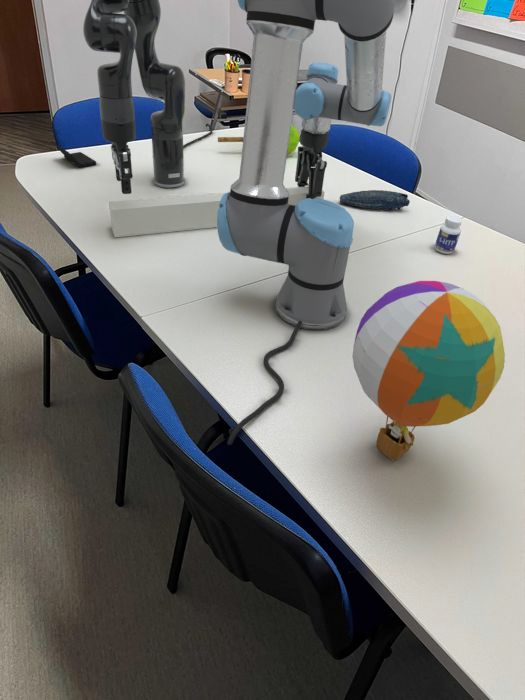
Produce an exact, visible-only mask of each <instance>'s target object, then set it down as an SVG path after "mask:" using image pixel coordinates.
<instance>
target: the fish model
mask: <svg viewBox="0 0 525 700" xmlns="http://www.w3.org/2000/svg"><path fill="white" fill-rule="evenodd" d="M410 202H411V201H410V200H409V195H408V194H406V193H403V192H402V193H401V192H399V191H392V190H382V189H380V190H379V189H377V190H376V189H368V190H360V191H352V192H348V193H344V194H341V195H340V196H339V203H343V204H346V205H349V206H351V207H357V208H362V209H371V210H372V209H374V210H384V211H385V210H386V211H391V210H394V209H397V210H402V208H404V207H408V206H409V205H410Z"/></svg>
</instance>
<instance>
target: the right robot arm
mask: <svg viewBox="0 0 525 700" xmlns="http://www.w3.org/2000/svg"><path fill="white" fill-rule="evenodd" d="M237 3H238V6H239V8H240V9H241V10H242V11H244V12H245V13H246V21H245V23H246V26H247V27H248V28H249V30H250V31H251V33H252V35H253V39H252V41H253V42H252V52H251V58H250V59H251V60H250V69H249V70H250V71H249V80H248V90H247V97H246V98H247V99H246V109H245V119H244V129H243V136H242V137H243V142H242V149H241V158H240V166H239V177H238V179H237V180H235V181H234V182H233V183H231V184H230V187H229V188H230V189H229V190H230V191H228V192H224V193H225V194H224V195H223V196H222V198H221V200H220V203H219V209H218V213H217V227H216V228H217V229H216V230H217V236H218V239H219V242H220V244H221V245H222V247H223V248H224V249H225V250H227V251H229V252H231V253H235V254H237V255H240V256H242V257H250V258H254V259H259V260H263V261H264V260H265V261H269V262H273V263H279V264H283V265H288V270H287V271H288V272H287V275H286V278H285V279H284V282H283V283H282V285H281V287H280V290H279V291H278V294H277V296H276V300H275V311H276V313H277V315H278V316H279V317H280V318H281V319H282V320H283V321H284V322H286V323H287V324H289V325H291V326H293V327H294V329H293V331H292V332H291V335H290V338H289V339H288V341H287V342H286V343H284V344H283V345H281V346H278V347H276V348H273V349H271V350H269V351H268V352H267V353H265V355H264V357H263V365H264V367H265V370H267V371H268V373H270V375H272V377H273V378H274V379H275V380H276V381H277V383H278V390H277V392H276V393H275V394H274V395H273V396H272V397H271V398H269V399H267V400H266V401H264V402H263V403H262V404H261V405H260V406H259V407H258V408H256V410H254V411H253V412H252V413H250V414H249V415H247V416H246V417H244V418H243V419H242V420H241V421H240V422H238V424H237V425H236V426H235V427H234V429H233V430H232V432H231V433H230V435H229V437H228V439H227V442H226V444H227V445H228V446H231V445H232V444H233V443H234V441H235V439H236V438H237V436H238V434H239V433H240V431H241V430H242V428H244V427H245V425H247V424H248V423H250V422H251V421H252V420H254V419H255V418H256V417H257V416H259V415H261V413H262V412H263V411H265V410H266V409H267V408H268V407H269V406H271V405H272V404H274V403H275V402H276V401H278V400H279V399H280V398H281V396H282V395H283V393H284V390H285V384H284V380H283V379H282V377H281V376H280V375H279V373H277V371H276V370H274V368H272V366H271V365H270V363H269V359H270V357H271V356H273V355H275V354H277V353H280V352H282V351H284V350H286V349H288V348H289V347H290V346H291V345H292V344H293V343H294V341H295V339H296V336H297V334H298V333H299V331H300V329H304V330H310V331H324V330H325V331H326V330H329V329H333V328H336V327H337V326H339V325H340V324H342V323H343V322H344V320H345V318H346V315H347V310H348V309H347V308H348V307H347V306H348V305H347V297H346V292H345V286H344V280H345V275H346V271H347V267H348V266H347V265H348V260H349V256H350V255H349V254H350V250H351V246H352V244H353V242H354V239H353V236H354V235H353V234H354V228H355V221H354V219H353V216H352V215H351V213H349V211H348V210H347V209H346V208H344V207H343V206H341V205H339V204H338V203H335V202H333V201H330V200H328V199H325V198H324V199H319V198H316V197H321V194H322V190H323V186H324V180H325V172H326V168H327V166H328V161H326V160H323V150H324V149H325V148H327V147H328V145H329V137H330V132H329V131H330V130H331V125H332V123H331V122H332V120H336V121H341V122H347V123H353V124H358V125H359V124H360V125H364V126H367V127H370V126H374V127H383V126H384V125H385V124H386V121H387V119H388V115H389V111H390V107H391V101H392V94H391V92H389V91H386V90H384V89H383V78H384V67H385V66H384V65H385V54H386V53H385V52H386V39H387V31H388V30H389V28H390V27H391V24H392V22H393V19H394V13H395V0H237ZM316 21H325V22H328V21H329V22H333V23H337V25H338V28H339V30H340V32H341V33H342V35H343V36H344V37H343V38H344V57H345V74H346V76H345V77H346V84H340V83H339V84H338V77H339V69H338V67H337V66H336V65H334V64H333V63H328V62H311V63H310V64H309V65H308V68H307V69H308V70H307V74H306V81H305V82H303V83H301V84H300V85H299V86H298V80H299V74H300V66H301V60H302V52H303V46H304V43H305V41H306V40H307V39H308V38H310V36H312V35H313V34H314V31H315V26H316V25H315V23H316ZM294 113H295V115H297V116H298V117H299V118H300V119H301V128H302V129H301V130H300V134H299V137H300V140H299V144H300V145H301V146H297V158H296V159H297V160H296V169H295V177H294V182H296V186H297V187H306V186H309V194H307V195H306V198H305V199H302V200H300V201H299V202H298V203H297V205H296V206H295V205H290V204H288V199H289V192H288V191H287V189H286V188H287V187H286V186H285V185H284V180H285V173H286V172H285V171H286V165H287V160H288V159H287V158H288V154H287V151H288V144H289V137H290V130H291V125H292V123H293V116H294Z"/></svg>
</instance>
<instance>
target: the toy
mask: <svg viewBox="0 0 525 700" xmlns="http://www.w3.org/2000/svg"><path fill="white" fill-rule="evenodd" d="M356 329H357V330H356V333H355V338H354V343H353V348H352V363H353V368H354V371H355V373H356V375H357V378H358V380H359V383H360V386H361V388H362V390H363V392H364V394H365V395H366V396H367V397H368V398H369V399H370V401H371V402H373V403H374V405H375V406H376V407H377V408H378V409H379V410H380V411H381V412H382V413H383V414H384V415H385V416H386V422H385V427H380V428H379V432H378V434H377V438H376V442H375V444H376V448H377V449H378V451H380V453H382V454H383V455H385V456H386V457H387V459H390V461H392V462H396V461H398V460H399V459H400V458H401V457H403V456H404V455H405V454H407V452H409V451H410V449H411V447H413V446H414V445H415V444H414V442H415V439H416V436H415V434H414V433H413V432H414V430H415V429H416V427H417V428H418V427H433V426H443V425H448V424H451V423H453V422H455V421H458V420H460V419H462V418H465V417H467V416H469V415H471V414H472V413H474V412H477V411H478V410H479V409H480V408H481V407H482V406H483V405H484V404H485V403H486V401H487V400H488V398H489V397H490V395H491V393H492V392H493V390H494V389H495V388H496V386H497V384H498V382H499V381H500V380H501V378H502V375H503V371H504V369H505V360H506V359H505V358H506V353H505V347H504V341H503V335H502V329H501V326H500V324H499V321H498V320H497V318H496V316H495V315H494V314H493V312H492V311H491V310H490V309H489V308H488V306H487V305H486V304H485V303H484V302H483V301H482V299H481V298H480V297H478V296H476V295H475V294H473V293H472V292H470V291H469V290H467V289H465V288H463V287H460V286H457V285H455V284H453V283H449V282H444V281H440V280H439V281H438V280H417V281H414V282H410V283H407V284H402V285H399V286H396V287H394V288H392V289H391V290H389V291H387V292H386V293H384V294H383V295H382V296H381V297H380V298H378V299H377V300H376V301H375V302H374V303H373V304H372V305H371V306H369V308H367V310H366V311H365V313H364V314H363V316H362V317H361V318H360V320H359V324H358V327H357V328H356ZM389 419H390V420H391V421H392V422H391V423H388V422H389V421H388V420H389ZM408 427H411V428H412V427H413V428H412V430H411V431H410V430H409V428H408Z"/></svg>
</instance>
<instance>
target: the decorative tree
mask: <svg viewBox="0 0 525 700" xmlns="http://www.w3.org/2000/svg"><path fill="white" fill-rule="evenodd" d="M243 137H244V136H218V137H217V143H243ZM299 144H300V132H299V131H298V129H297V128H296V127H295V126H294V125H292V124H291V130H290V137H289V144H288V151H287V155H289V154H291V153H293V152H295V151H296V150H297V148H298V145H299Z"/></svg>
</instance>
